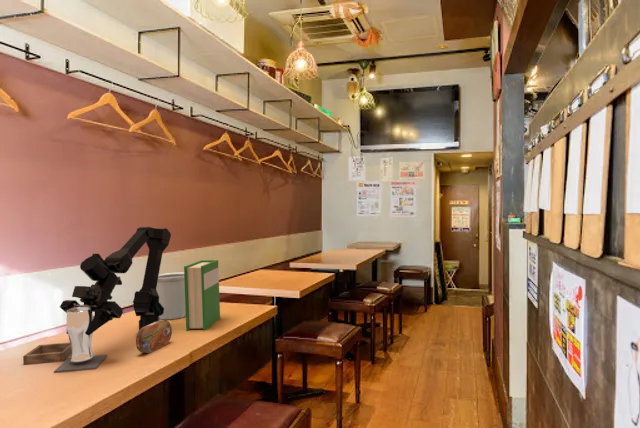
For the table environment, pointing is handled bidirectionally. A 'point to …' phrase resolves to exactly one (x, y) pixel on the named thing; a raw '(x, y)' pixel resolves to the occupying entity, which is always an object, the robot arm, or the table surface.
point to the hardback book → (202, 294)
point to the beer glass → (80, 333)
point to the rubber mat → (81, 364)
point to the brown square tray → (48, 353)
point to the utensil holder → (172, 295)
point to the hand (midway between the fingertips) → (77, 334)
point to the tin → (153, 336)
